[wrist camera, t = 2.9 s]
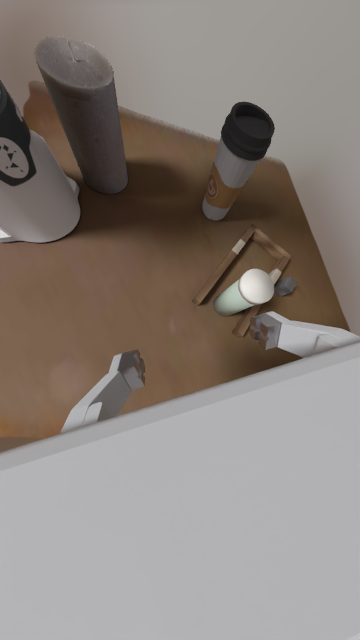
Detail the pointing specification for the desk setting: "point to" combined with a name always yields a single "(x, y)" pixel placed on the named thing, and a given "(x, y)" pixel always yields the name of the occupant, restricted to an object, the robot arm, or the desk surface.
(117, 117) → the pillar candle
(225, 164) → the coffee cup
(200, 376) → the desk surface
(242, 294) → the mint green tumbler
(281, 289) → the beam slot
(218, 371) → the desk surface
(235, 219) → the desk surface
